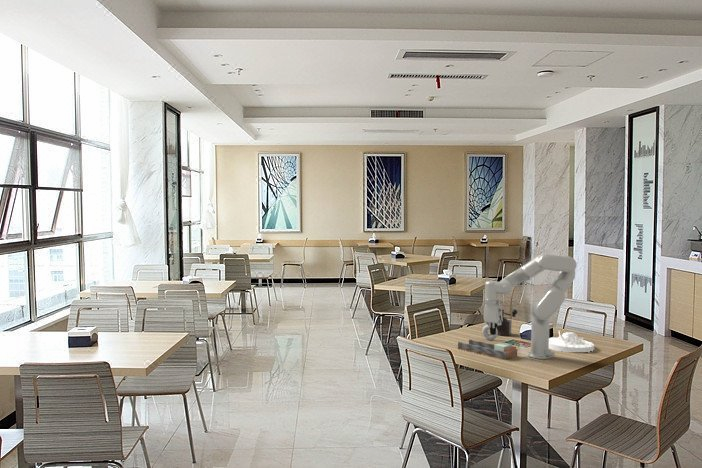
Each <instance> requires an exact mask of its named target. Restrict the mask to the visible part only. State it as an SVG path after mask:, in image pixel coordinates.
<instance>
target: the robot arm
mask: <svg viewBox="0 0 702 468" xmlns="http://www.w3.org/2000/svg"><path fill="white" fill-rule="evenodd" d="M577 265H578V264H577V261H576V259H574V258H573V257H572V256H569V255H554V254H550V253H546V252H542V253H540V254H539V255H537V256H535V257H534V258H532V259H531V260H530V261H528V262H526V263H525V264H524V265H522V266H521V267H519V268H517V269H516V270H514V271H513V272H512V273H509V274H508V275H507V276H505V277H504V278H502V279H501V280H500V281H497V280H487V281H485V283H484V294H485V295H484V297H485V298H484V299H485V301H484V303H485V304H484V307H483V323H484V325H485V324H486V325H487V324H488V326H489V328H490V330H489V334H490V335H495V334H496V327H497V326H498V325H501V322H502V321H503V319H502V310H503V309H502V306H501V305H500V304H501V301H500V296H499V295H510V294H512V292H513V290H514V288H515V287H516V286H518V285H520V284H521V283H524V282H527V281H530V280H533V278H535V277H536V276H538V275H540V273H542V272H544V271H547V270H548V271H553V272H558V275H557V276H556V277H555V279H554V280H553V281H552V282H551V283H550V285H548V287H547V288H546V289H545V291H544V296H543V298H542V299H538V300H535V301H534V302H533V303H532V304H531V311H530V312H531V313H530V314H531V331H530V332H531V333H530V352H527V356H528V357H530V358H532V359H538V360H539V359H540V360H549V359H551V358H552V357H555V355H556V354H555V352H554V351H551V349H549V338H550V318H552V317H553V315H554V314H555V313H556V312H557V311H558V309H559V308H560V307H561V306H562V305H563V303H564V302H565V300H566V294H565V293H566V292H567V291H568V290H569V288H571V287H570V286H571V285H573V283H574V281H575V278H576V268H577Z"/></svg>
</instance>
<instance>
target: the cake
mask: <svg viewBox="0 0 702 468" xmlns="http://www.w3.org/2000/svg"><path fill="white" fill-rule="evenodd" d="M549 349H550V350H552V351H557V352H561V351H563V352H564V353H569V352H588V353H591V352H590V351H592V352H594V351H595V343H593V342H591V341H587V340H586V339H585V340H584V337H581V336H580V337H578V335H577V333H575V332H572V331H566V332H564V333H562V334H561V331H560V330H558V337H554V336H552V337H549ZM593 350H594V351H593Z"/></svg>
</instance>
